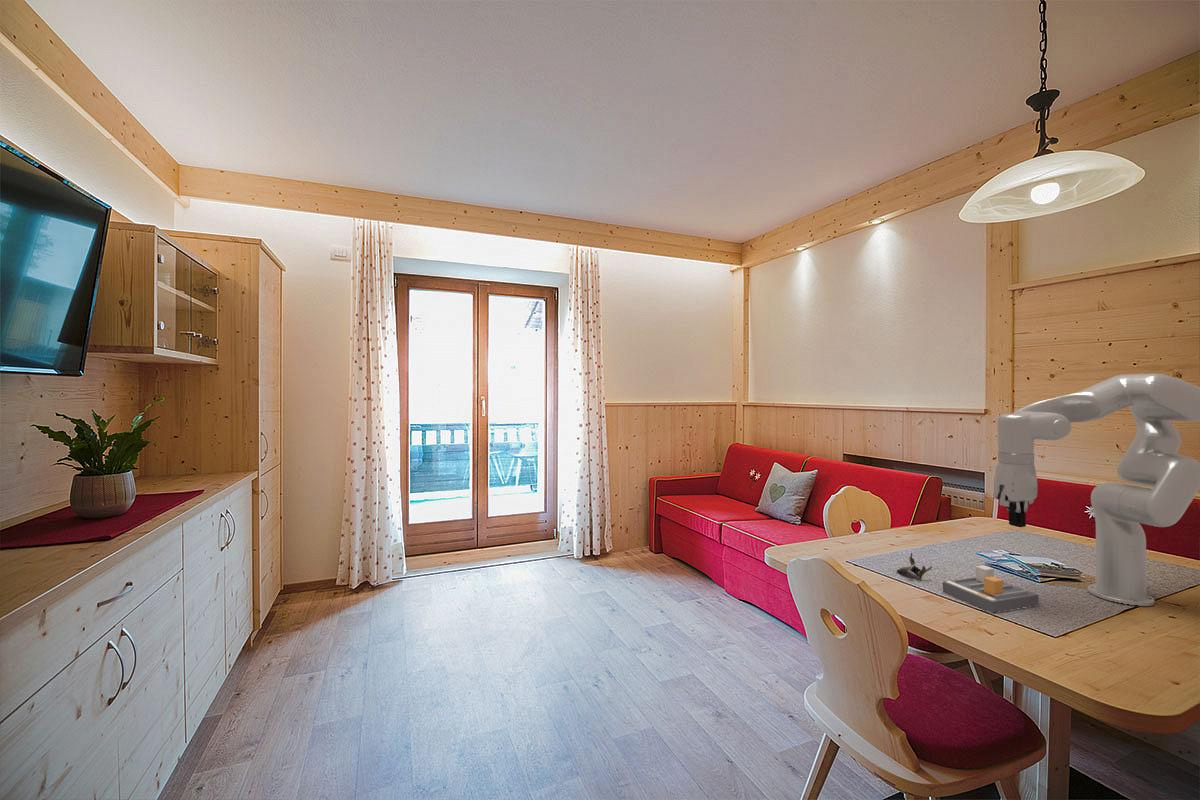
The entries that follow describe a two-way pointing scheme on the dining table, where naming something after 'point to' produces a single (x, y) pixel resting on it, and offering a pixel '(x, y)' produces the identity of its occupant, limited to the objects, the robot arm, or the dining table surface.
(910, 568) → the eagle figurine
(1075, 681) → the dining table surface
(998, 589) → the orange tab
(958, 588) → the grey slotted tray
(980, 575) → the white block
